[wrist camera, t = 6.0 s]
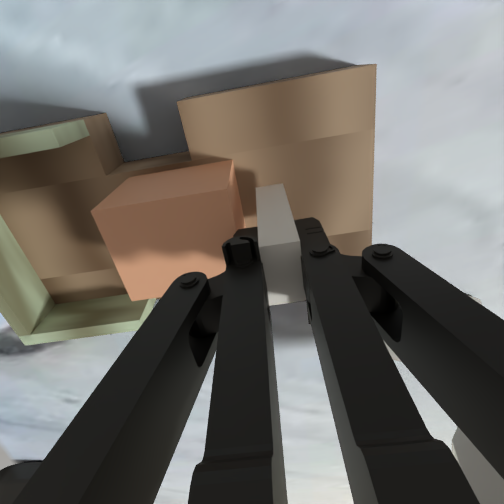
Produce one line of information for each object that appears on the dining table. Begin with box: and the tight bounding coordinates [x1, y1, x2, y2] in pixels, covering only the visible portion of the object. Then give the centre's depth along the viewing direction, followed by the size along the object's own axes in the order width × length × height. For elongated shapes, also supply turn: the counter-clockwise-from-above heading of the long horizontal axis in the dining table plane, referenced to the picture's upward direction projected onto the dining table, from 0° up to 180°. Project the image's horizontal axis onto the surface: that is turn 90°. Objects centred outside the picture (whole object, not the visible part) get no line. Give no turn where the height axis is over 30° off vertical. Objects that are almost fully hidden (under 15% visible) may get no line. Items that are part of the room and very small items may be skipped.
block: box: [91, 160, 246, 301], centre depth 17 cm, size 6×5×5 cm
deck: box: [0, 64, 377, 345], centre depth 19 cm, size 23×12×6 cm, turn 100°
